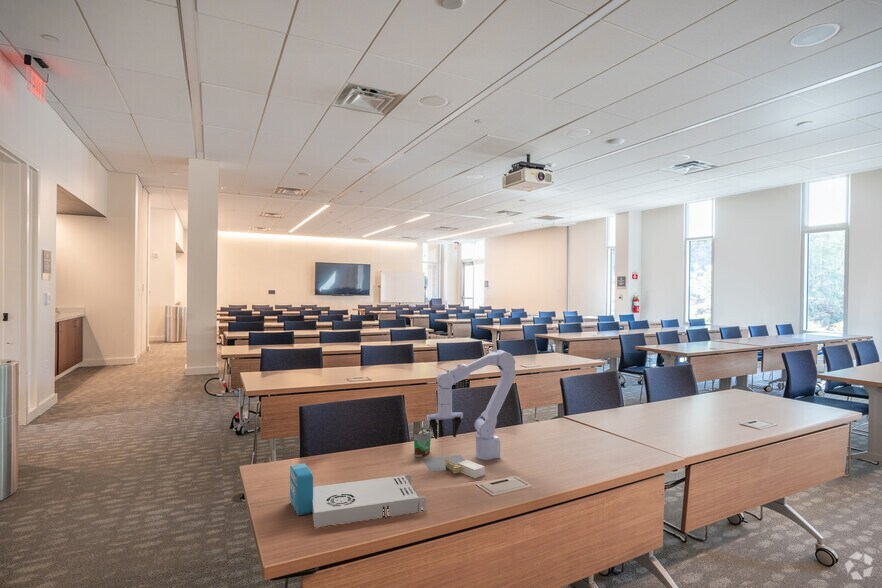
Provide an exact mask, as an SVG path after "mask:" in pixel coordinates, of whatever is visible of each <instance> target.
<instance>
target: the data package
mask: <svg viewBox="0 0 882 588" xmlns="http://www.w3.org/2000/svg"><path fill="white" fill-rule="evenodd" d="M313 487H314V474H313V472H312V470H311V469H310V468H309V467H308V465H306V463H304V462H303V463H299V464H292V465H290V467H289V500H290V501H291V502H290V501H289V502H290V504H291V503H292V504H291V506H292V505H293V506H292V508H293V507H294V508H293V510H294V509H295V510H294V511H296V512H295V513H297V514H296V516H298V515H299V516H302V514H303V515H306V514H311V512H312V510H313V508H312V501H313Z"/></svg>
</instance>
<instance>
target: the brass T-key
mask: <svg viewBox="0 0 882 588" xmlns="http://www.w3.org/2000/svg"><path fill="white" fill-rule="evenodd" d="M445 468H446V469H450V470H449V471H452V473H453V474H458V473H461V472H462V466H460V465H459V466H457V465H456V464H454V463H452V462H451V460H450V459H446V460H445Z"/></svg>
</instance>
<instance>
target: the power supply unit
mask: <svg viewBox="0 0 882 588" xmlns="http://www.w3.org/2000/svg"><path fill="white" fill-rule="evenodd" d="M312 508H313V510H312V513H313V514H312V521H314V522H313V528H314V527H321V526H327V525H333V524H340V523H347V524H350V523H349V522H354V523H356V522H355V521H360V522H362V521H361V520H366V521H370V520H369V519H373V520H377V519H376V518H379V519H383V518H385V517H386V518H387V517H389V516H392V517H396V516H395V515H399V516H403V514H405V515H410V514H409V513H411V514H416V512H419V513H422V512H423V511H424V512H427V497H426V496H419V494H417V492H416V490H415V488H414V486H412V474H402V475H396V476H395V475H394V476H387V477H380V478H379V477H378V478H372V479H365V480H364V479H363V480H356V481H350V482H349V481H347V482H340V483H332V484H325V485H315V486H313V501H312ZM383 509H384V511H383ZM387 509H389V511H388V512H389V516H387ZM418 510H419V511H418ZM421 510H423V511H421ZM383 512H384V516H385V517H383ZM382 517H383V518H382Z"/></svg>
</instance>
